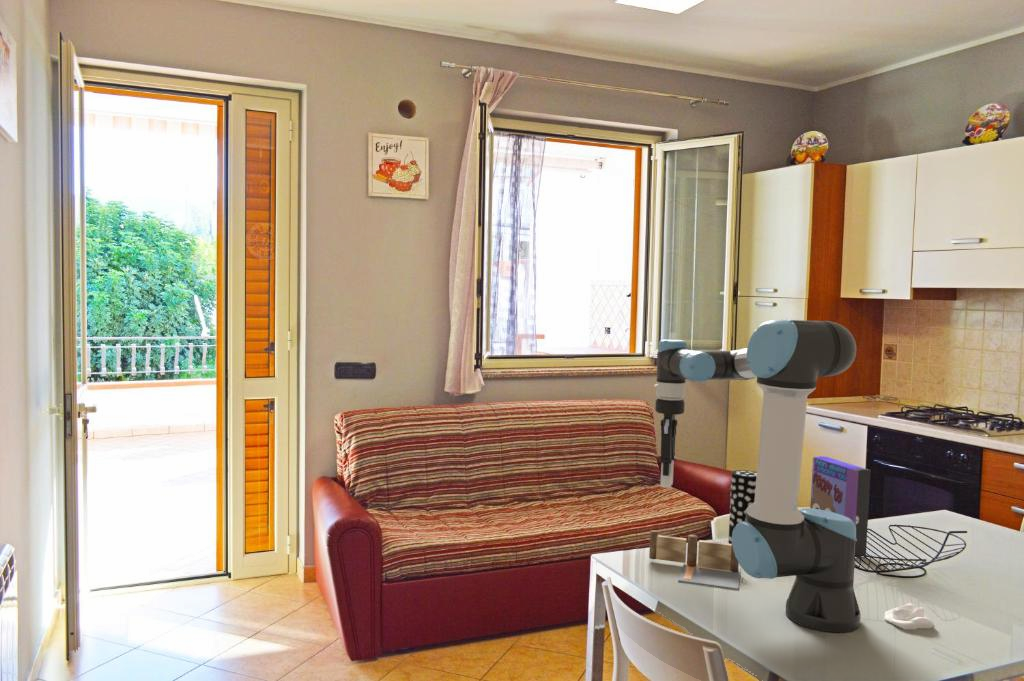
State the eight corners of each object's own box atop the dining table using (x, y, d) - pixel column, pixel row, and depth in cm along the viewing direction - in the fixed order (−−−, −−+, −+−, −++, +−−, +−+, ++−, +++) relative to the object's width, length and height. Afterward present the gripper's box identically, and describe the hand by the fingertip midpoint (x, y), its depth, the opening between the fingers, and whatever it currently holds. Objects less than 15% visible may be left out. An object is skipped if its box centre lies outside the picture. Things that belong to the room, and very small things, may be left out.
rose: (929, 617, 164) (879, 604, 170) (927, 638, 164) (877, 624, 170) (939, 603, 171) (891, 591, 177) (938, 623, 172) (890, 611, 178)
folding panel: (685, 561, 204) (686, 534, 203) (684, 563, 202) (686, 536, 201) (649, 556, 206) (650, 529, 206) (648, 558, 204) (649, 532, 204)
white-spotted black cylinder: (752, 550, 217) (756, 478, 215) (723, 544, 222) (727, 473, 220) (763, 543, 223) (767, 473, 222) (735, 537, 228) (738, 468, 227)
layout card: (740, 570, 200) (740, 568, 200) (738, 590, 187) (738, 588, 187) (684, 563, 205) (684, 561, 205) (678, 581, 191) (678, 579, 191)
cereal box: (808, 538, 229) (813, 456, 228) (822, 537, 231) (826, 456, 229) (851, 558, 213) (856, 470, 211) (865, 557, 214) (870, 469, 213)
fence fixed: (738, 571, 200) (739, 540, 199) (738, 574, 197) (739, 543, 197) (687, 564, 204) (688, 534, 203) (686, 567, 201) (687, 536, 201)
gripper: (660, 393, 218) (656, 477, 219) (651, 400, 203) (647, 491, 204) (687, 395, 216) (684, 480, 217) (681, 402, 200) (677, 494, 202)
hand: (666, 485), depth 211 cm, fingers open, 3 cm apart
